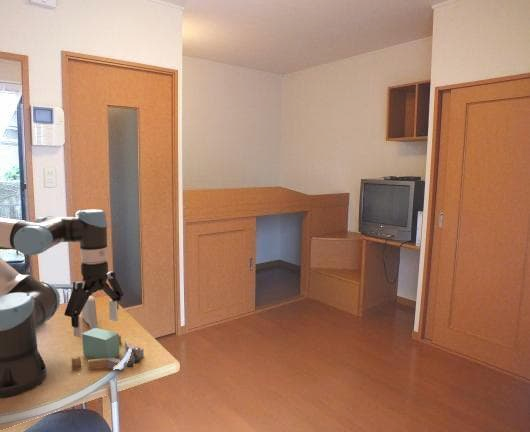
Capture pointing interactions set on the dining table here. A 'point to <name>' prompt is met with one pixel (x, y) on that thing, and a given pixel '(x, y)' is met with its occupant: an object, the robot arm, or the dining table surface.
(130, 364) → the bosses
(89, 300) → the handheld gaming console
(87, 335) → the pale green block
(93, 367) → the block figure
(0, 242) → the robot arm
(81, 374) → the dining table surface
